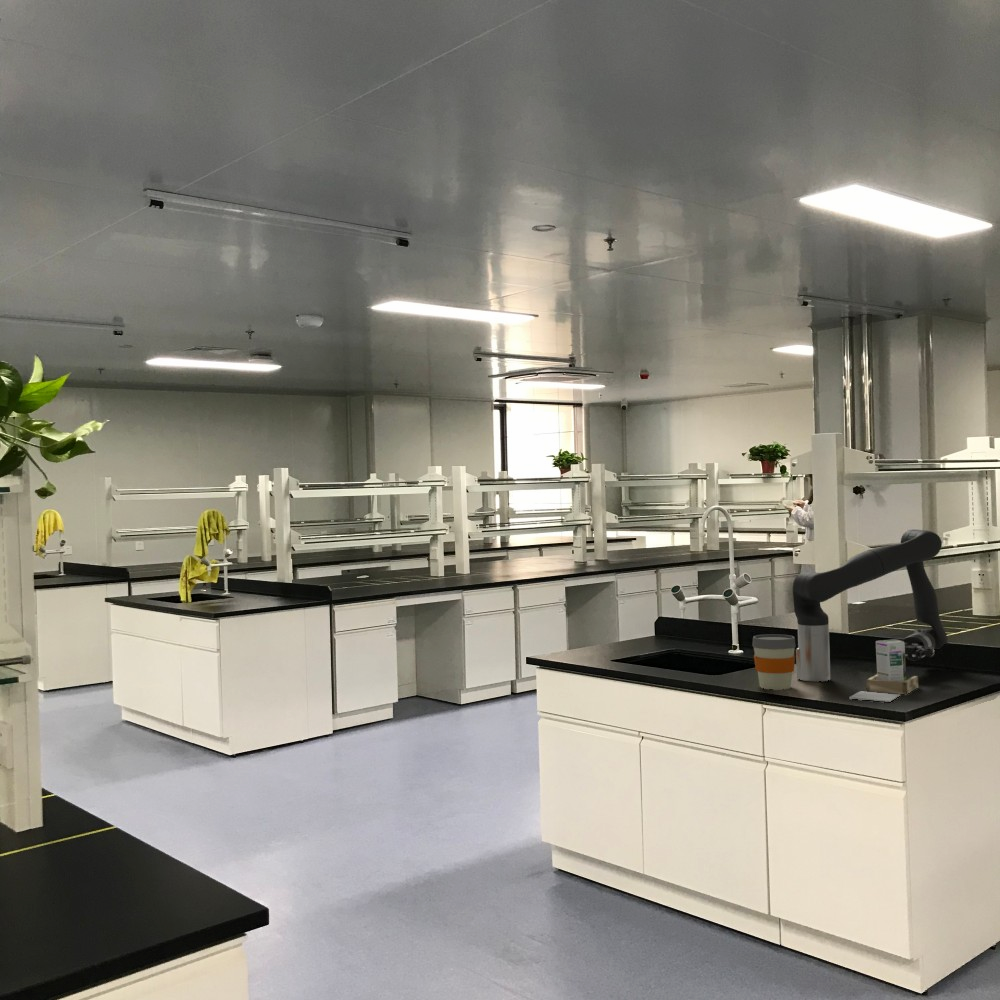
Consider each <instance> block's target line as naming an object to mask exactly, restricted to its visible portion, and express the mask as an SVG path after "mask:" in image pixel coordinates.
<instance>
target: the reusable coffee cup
mask: <svg viewBox="0 0 1000 1000" xmlns="http://www.w3.org/2000/svg"><path fill="white" fill-rule="evenodd" d="M752 647H753V652H754V655H753V661H754V665H755V666H754V667H755V671H756V672H757V675H758V676H757V677H758V683H759V688H760V687H761V689H763V688H764V689H765V690H769V689H773V690H772V691H774V690H775V691H783V689H784V690H789V689H791V687H792V679H793V672H794V671H795V664H796V661H795V660H796V655H795V650H796V649H795V648H797V647H796V638H795V636H793V635H789V634H775V633H774V634H773V633H771V634H768V633H767V634H757V635H753V637H752ZM764 689H763V690H764Z"/></svg>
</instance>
